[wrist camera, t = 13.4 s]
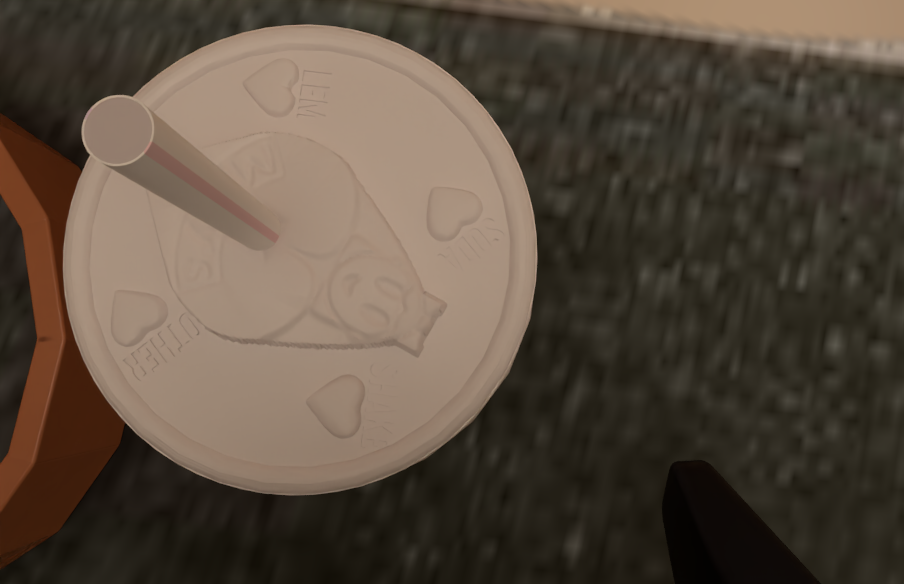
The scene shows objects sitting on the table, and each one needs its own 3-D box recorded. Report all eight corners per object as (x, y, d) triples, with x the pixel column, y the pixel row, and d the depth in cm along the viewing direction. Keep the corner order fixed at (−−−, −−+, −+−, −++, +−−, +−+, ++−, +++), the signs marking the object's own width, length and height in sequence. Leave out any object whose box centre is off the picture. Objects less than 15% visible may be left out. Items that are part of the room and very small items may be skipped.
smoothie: (331, 141, 20) (51, -364, 6) (547, 261, 20) (757, 10, 6) (203, 356, 20) (-413, 327, 6) (423, 484, 19) (332, 780, 5)
